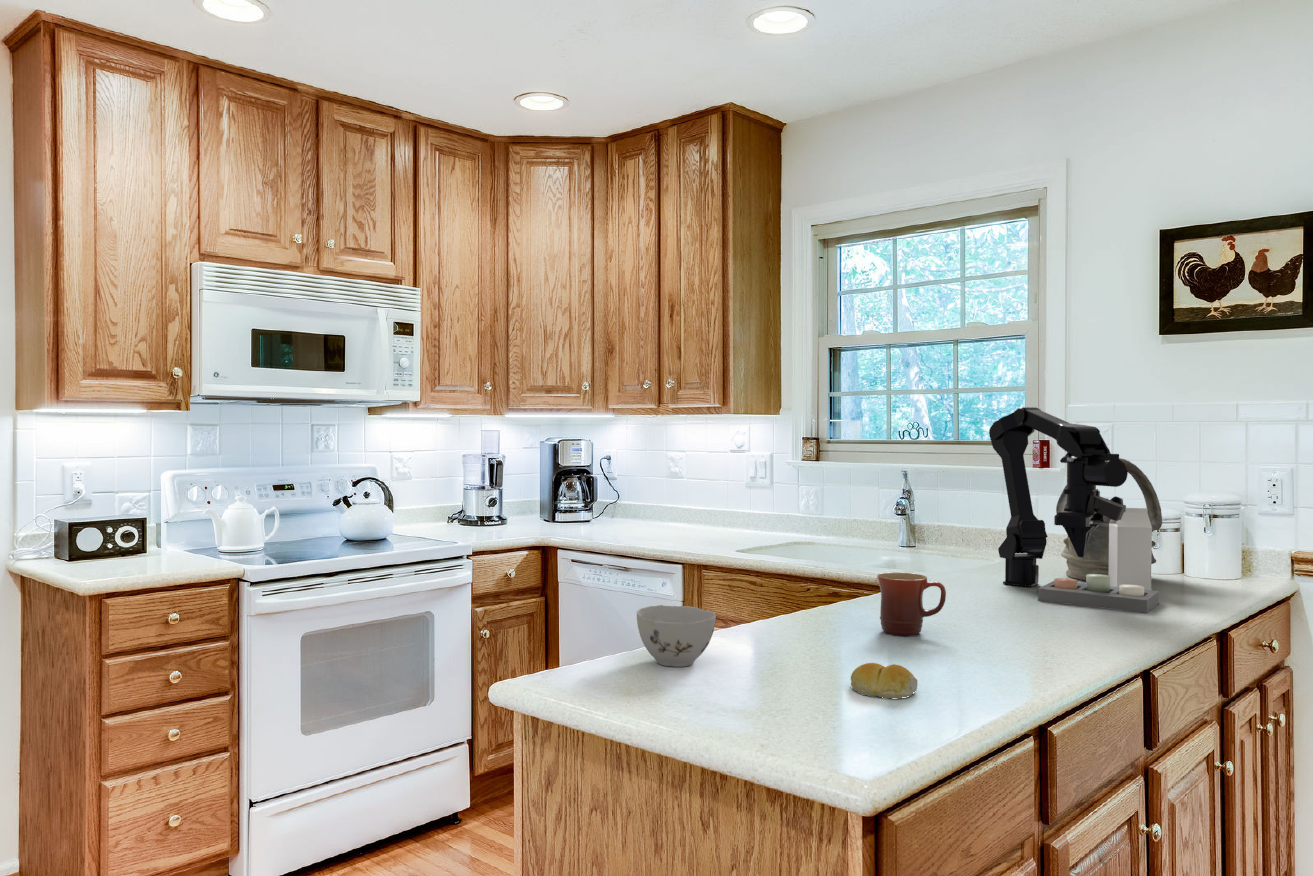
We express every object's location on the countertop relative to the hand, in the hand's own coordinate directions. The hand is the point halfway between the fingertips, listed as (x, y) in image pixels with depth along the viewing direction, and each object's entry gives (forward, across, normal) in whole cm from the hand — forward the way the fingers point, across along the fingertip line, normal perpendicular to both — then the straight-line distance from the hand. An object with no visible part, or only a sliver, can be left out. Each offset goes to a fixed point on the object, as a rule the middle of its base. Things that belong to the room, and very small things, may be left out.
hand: (1081, 556), depth 199 cm
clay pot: (+9, +36, +3) cm, 38 cm away
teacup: (+10, -96, +36) cm, 103 cm away
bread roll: (+11, -90, +3) cm, 91 cm away
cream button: (+8, +1, -10) cm, 13 cm away
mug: (+10, -54, +15) cm, 57 cm away
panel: (+9, 0, -3) cm, 10 cm away
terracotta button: (+8, 0, +3) cm, 9 cm away
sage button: (+7, 0, -3) cm, 8 cm away
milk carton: (+10, +20, -5) cm, 22 cm away
